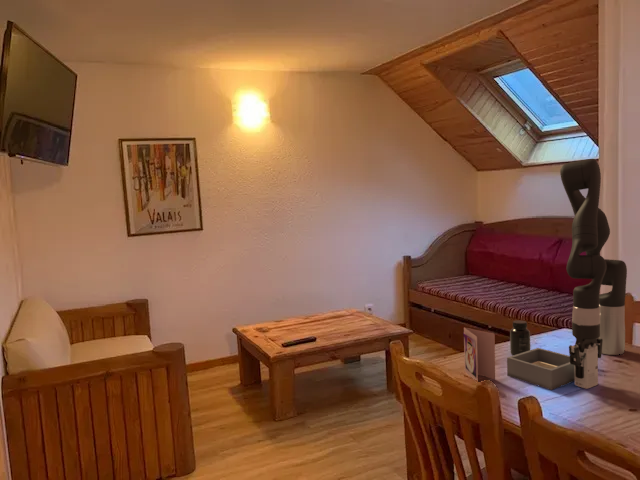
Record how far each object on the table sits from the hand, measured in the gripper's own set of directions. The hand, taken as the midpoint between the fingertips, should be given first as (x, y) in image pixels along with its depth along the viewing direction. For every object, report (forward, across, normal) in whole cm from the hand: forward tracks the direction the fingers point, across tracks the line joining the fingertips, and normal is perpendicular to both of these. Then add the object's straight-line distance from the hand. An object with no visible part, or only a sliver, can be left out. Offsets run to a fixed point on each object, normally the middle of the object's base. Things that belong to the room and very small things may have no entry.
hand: (585, 375), depth 163 cm
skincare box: (+3, 0, 0) cm, 3 cm away
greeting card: (+3, +18, -25) cm, 31 cm away
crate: (+3, +3, -12) cm, 13 cm away
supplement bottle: (+3, -10, -31) cm, 33 cm away
